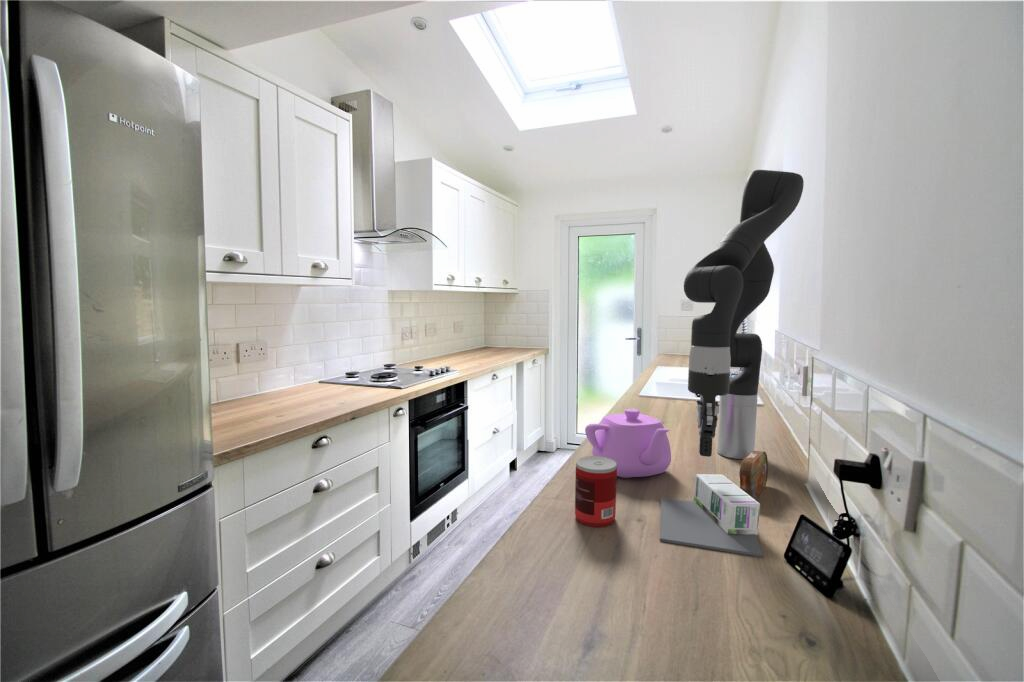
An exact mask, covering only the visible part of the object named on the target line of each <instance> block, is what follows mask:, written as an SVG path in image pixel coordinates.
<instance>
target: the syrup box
mask: <svg viewBox="0 0 1024 682" xmlns="http://www.w3.org/2000/svg"><path fill="white" fill-rule="evenodd" d="M694 502H697V503H698V504H699V505H700V506H701V507H702V508H703V509H704V510H705V511H706V513H707V514H708V515H709V516H710V517H711V518H712V519H713V520H714V521H715V522H716V523H717V524H718V525H719V526H720V527H721V528H722V529H723V530H724V531H725V532H726V533H727V534H741V535H745V534H746V535H747V534H748V535H749V534H755V535H759V534H758V532H759V522H760V509H761V503H760V502H758V501H757V499H756V500H755V499H753V498H752V497H751V496H749V495H748V494H747V493H746V492H744V491H743V490H742V489H740V486H738V485H736V483H734V482H733V481H731V480H730V479H729V478H728V477H726V476H725V475H724V474H717V473H716V474H711V473H710V474H709V473H708V474H707V473H706V474H705V473H703V474H701V473H697V474H695V485H694Z"/></svg>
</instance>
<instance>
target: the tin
mask: <svg viewBox="0 0 1024 682" xmlns="http://www.w3.org/2000/svg"><path fill="white" fill-rule="evenodd" d="M768 459H769V458H768V455H767V452H766V451H764V450H763V451H760V450H759V451H758V450H754V451H751V452H750V453H749V454H748V455H747V456H746V457H745V458H744V459H742V461H741V463H740V466H739V474H738V475H739V488H740V489H742V490H743V491H744V492H746V493H747V494H748V495H749V496H751V497H752V498H753V499H755V500H756V501H757V499H758V498H759V496H760V495H761V493H762V492H763V491H764V490H765V489H766V486H767V481H768V474H769V472H768V471H769V462H768V461H769V460H768Z"/></svg>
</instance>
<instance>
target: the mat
mask: <svg viewBox="0 0 1024 682" xmlns="http://www.w3.org/2000/svg"><path fill="white" fill-rule="evenodd" d="M659 523H660V525H659V526H660V527H659V530H660V531H659V532H660V533H659V541H660V542H664V543H670V544H677V545H682V546H683V545H684V546H689V547H696V548H702V549H706V550H707V549H708V550H714V551H715V550H716V551H721V552H728V553H733V554H739V555H740V554H741V555H745V556H752V557H757V558H758V557H759V558H763V552H762V550H761V546H760V544H759V542H758V539H757V536H756V534H749V535H748V534H747V535H746V534H745V535H741V534H727V533H726V532H725V531H724V530H723V529H722V528H721V527H720V526H719V525H718V524H717V523H716V522H715V521H714V520H713V519H712V518H711V517H710V516H709V515H708V514H707V513H706V511H705V510H704V509H703V508H702V507H701V506H700V505H699V504H698V503H697V502H696V501H690V500H685V499H684V500H682V499H675V498H668V497H661V499H660V522H659Z"/></svg>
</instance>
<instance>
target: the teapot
mask: <svg viewBox="0 0 1024 682" xmlns="http://www.w3.org/2000/svg"><path fill="white" fill-rule="evenodd" d="M623 411H624V413H614V414H608V415H607V414H606V415H604V416H603V417H602V418H601V420H600V423H590V424H587V425H586V426H585V429H584V432H585V436H586V438H587V440H588V442H589V443H590V444H591V446H592V451H591V452H592V456H600V457H606V458H609V459H612V460H614V461H615V462H616V464H617V477H621V478H622V479H623V478H624V479H631V478H642V477H651V476H656V475H660V474H662V473H665V472H666V471H667V470H668V468H669V467H670V465H671V462H672V451H671V446H670V441H669V438H668V434H667V433H668V432H670V431H671V429H669V428H665V426H664V425H663V423H662V421H661V420H660V419H658V418H656V417H653V416H650V415H647V414H643V413H641V411H640V410H639V409H636V408H627V409H624V410H623Z"/></svg>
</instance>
